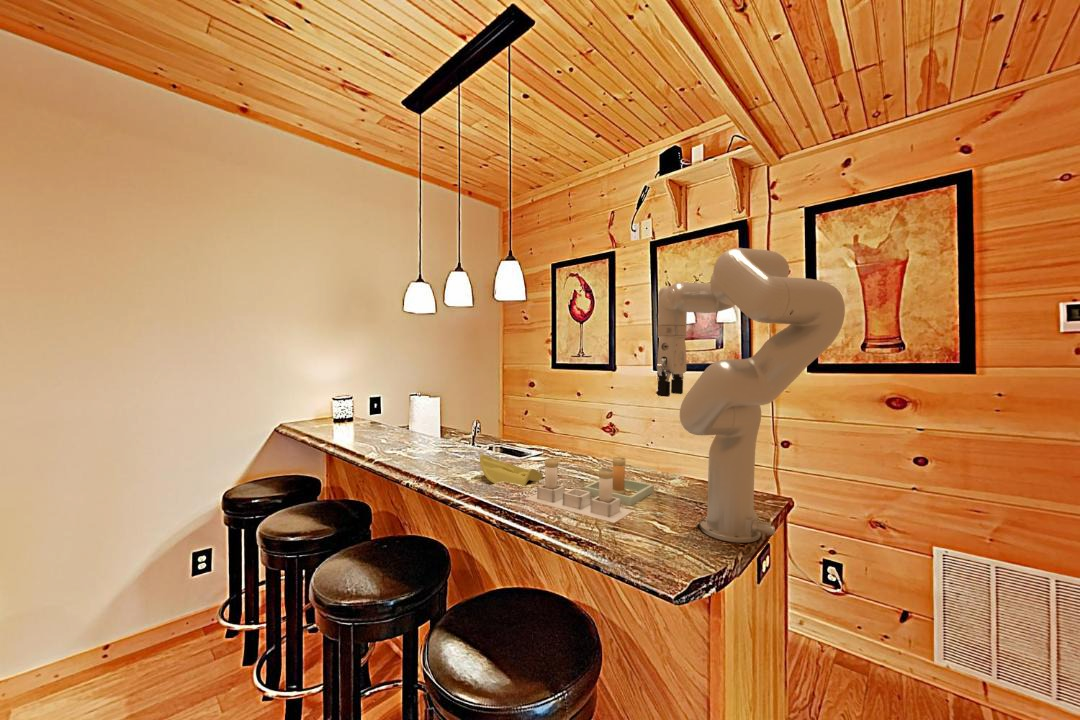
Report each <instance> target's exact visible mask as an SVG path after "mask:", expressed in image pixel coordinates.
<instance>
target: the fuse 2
mask: <svg viewBox="0 0 1080 720" xmlns="http://www.w3.org/2000/svg"><path fill="white" fill-rule="evenodd" d="M598 480H599V501H602V502H606V503H610V502H612V488H613V469H611V468H600V469H599V470H598Z"/></svg>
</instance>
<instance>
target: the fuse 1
mask: <svg viewBox="0 0 1080 720" xmlns="http://www.w3.org/2000/svg"><path fill="white" fill-rule="evenodd" d="M544 467H545V468H544V469H545V471H544V472H545V474H544V484H545V488H547V489H551V490H554V489H557V485H558V471H559V470H558V469H559V468H558V467H559V459H558V458H551V457H549V458H546V459H544Z"/></svg>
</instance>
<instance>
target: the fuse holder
mask: <svg viewBox="0 0 1080 720" xmlns="http://www.w3.org/2000/svg"><path fill="white" fill-rule="evenodd" d="M536 489H537V490H536V493H535V494H532V495H530V496H528V497H525V498H524V500H526V501H529V502H533V503H538V504H542V505H544V506H549V507H551V508H557V509H560V510H564V511H568V512H570V513H571V512H572V513H576V514H578V515H583V516H585V517H586V516H587V517H591V518H594V519H598V520H602V521H605V522H610V523H611V524H612V523H613V524H615V523H616V522H618V521H620V520H621V519H623V518H624V517H626V516H628V515H629V514H631V513H632V512H634V510H632V509H628V508H624V507H621V503H620V499H619V498H614V497H612V502H610V503H606V502H602V501H599V496H597V497H592V496H591V493H592V492H588V491H584V490H583V489H580V488H572V489H570V490H567V491H566V486H565V485H562V484H557V489H554V490H551V489H547V488H545V483H543V484H541V485H539V486H537V487H536Z"/></svg>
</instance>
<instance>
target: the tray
mask: <svg viewBox="0 0 1080 720" xmlns="http://www.w3.org/2000/svg"><path fill="white" fill-rule="evenodd" d="M654 489H655V485H654V484H651V483H645V482H642V481H641V482H640V481H635V480H630V479H626V478H625V490H630V491H634V492H635V491H636V492H635V493H633V494H631V495H626V494H624V495H622V494H618V493H613V492H612V497H614V498H619V499H620V505H621V504H622V505H627V506H630V507H631V506H634V505H635V504H637V503H638V502H640V501H642V500H644V499H645V498H647V497H648V496H650V495H654V493H655V492H654V491H655V490H654ZM582 490H584V491H588V492H592V493H591V498H595V497H597V496H599V479H598V480H596V481H593V482H591V483H589V484H587V485H584V486H583V489H582Z"/></svg>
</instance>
